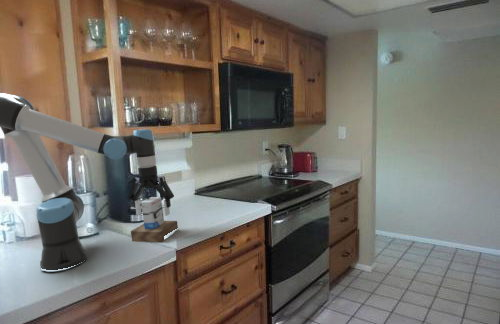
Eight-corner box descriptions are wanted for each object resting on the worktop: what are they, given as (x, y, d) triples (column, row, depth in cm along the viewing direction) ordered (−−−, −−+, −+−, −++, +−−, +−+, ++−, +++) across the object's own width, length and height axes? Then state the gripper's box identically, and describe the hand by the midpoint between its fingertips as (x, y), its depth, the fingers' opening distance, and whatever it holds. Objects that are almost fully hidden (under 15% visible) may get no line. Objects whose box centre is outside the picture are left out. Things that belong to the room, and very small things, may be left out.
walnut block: (132, 242, 142) (130, 231, 141) (151, 230, 155) (149, 220, 154) (161, 244, 138) (159, 232, 137) (178, 231, 151) (177, 220, 150)
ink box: (154, 229, 141) (150, 201, 139) (144, 229, 143) (140, 202, 141) (165, 222, 149) (161, 196, 147) (155, 222, 151) (151, 196, 149)
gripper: (178, 163, 143) (183, 211, 146) (126, 165, 148) (132, 212, 152) (170, 166, 135) (176, 217, 139) (115, 168, 141) (122, 217, 144)
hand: (153, 214), depth 145 cm, fingers open, 13 cm apart
